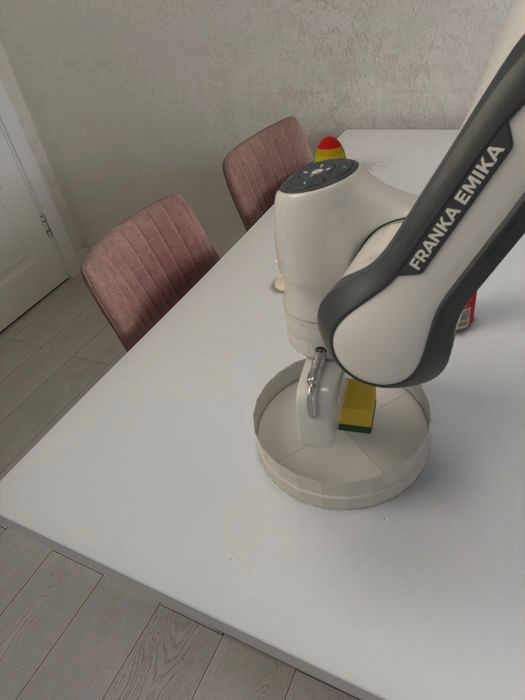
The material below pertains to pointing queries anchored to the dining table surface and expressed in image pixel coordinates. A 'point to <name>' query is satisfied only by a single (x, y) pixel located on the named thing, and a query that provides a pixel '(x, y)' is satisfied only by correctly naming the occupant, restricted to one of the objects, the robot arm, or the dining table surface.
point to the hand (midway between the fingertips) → (335, 410)
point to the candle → (279, 281)
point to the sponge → (358, 407)
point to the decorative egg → (329, 149)
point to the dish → (343, 447)
